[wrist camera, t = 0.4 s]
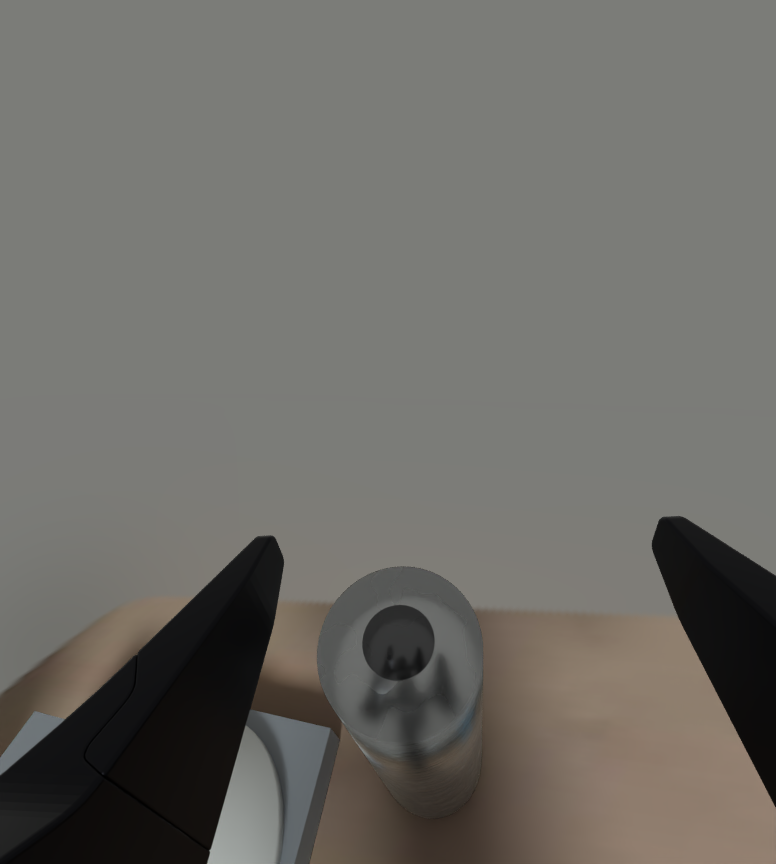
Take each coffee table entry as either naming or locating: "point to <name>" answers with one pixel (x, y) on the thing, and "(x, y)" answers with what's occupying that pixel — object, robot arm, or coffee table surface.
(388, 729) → the cylinder
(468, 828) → the coffee table surface
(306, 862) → the scale
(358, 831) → the coffee table surface
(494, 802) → the coffee table surface
